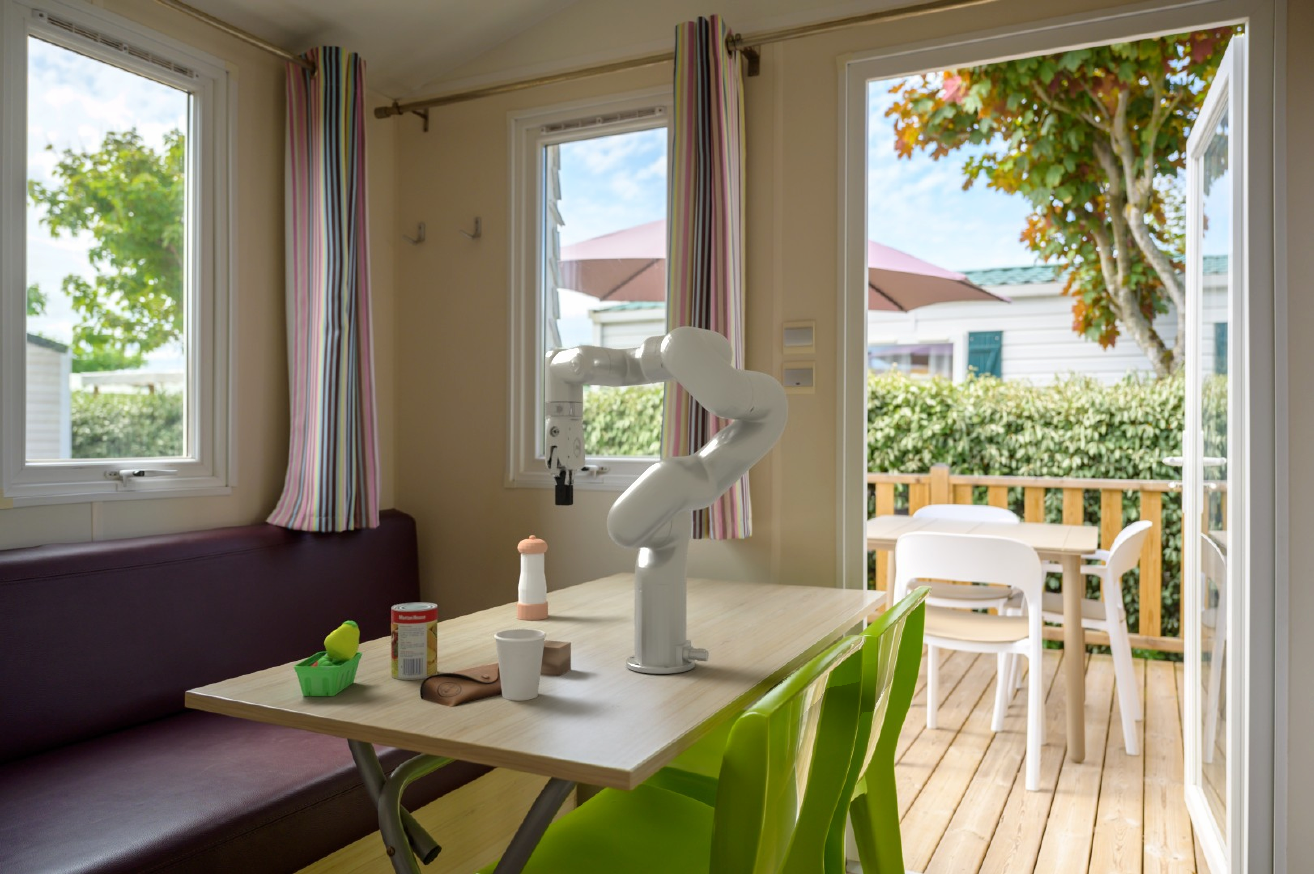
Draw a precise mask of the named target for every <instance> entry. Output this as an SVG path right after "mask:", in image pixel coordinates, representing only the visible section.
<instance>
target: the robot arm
mask: <svg viewBox="0 0 1314 874" xmlns="http://www.w3.org/2000/svg"><path fill="white" fill-rule="evenodd" d="M733 355H734V354H733V348H732V345H731V343H730V342H729V339H727V338H726V336H724V335H723V334H721V333H720V332H717V331H714V330H711V329H707V328H706V329H705V328H700V327H695V326H691V325H690V326H687V325H685V326H679V327H677V328H674V329H672V330H671V331H669V332H668V333H667V334H665V335H664V334H663V335H654V336H649V337H648V338H646V339H645V340H644V341H643V343H642V344H641V346H639V347H632V348H631V347H630V348H611V347H603V346H597V345H596V346H595V345H590V344H589V345H588V344H584V345H577V346H574V347H570V348H557V349H551V350H548V351H547V352H546V353H545V358H544V420H546V427H545V445H544V459H545V463H544V464H545V466H546V468H547V469H549V470H550V476H552V477H553V480H554V481H553V482H554V503H555V504H554V505H555V506H573V505H574V483H575V476H576V475H577V473H578V470H581V469H583V468H585V465H586V449H585V435H584V434H585V433H584V432H585V431H584V425H583V420H584V385H585V386H600V387H612V388H618V387H632V386H643V385H645V386H646V385H650V384H657V383H669V382H676V381H677V383H679V385H681V386H682V388H684V389H685V391H687V392H688V393H689V395H691V396H692V397H693V399H695V400H696V401H697V403H698V404H700V406H701V407H702V408H704V409H705V410H706V411H708V413H710V414H711V415H713V416H715V417H717V418H720V419H724V420H733V421H732V422H731V423H729V424H728V425H727V426H725V427H723V428H722V429H721V430H719V431H718V432H717V433H715V434H714V435H713V436H712V437H711V438H710V439H709V440H708V441H707V442H706V444H704V445H703V446H702V447H701V448H699V449H698V450H697V451H696V452H694V453H692V454H690V455H685V456H682V455H681V456H669V457H666V458H662V459H661V460H658V461H657V462H655V463H653V464H652V465H651V466H649V467H648V468H647V469H646V470H645V471H643V473H641V475H640V476H639V477H638V478H637V479H635V480H634V481H633V483H632V484H631V485H630V486H628V488H627V489H625V491H624V492H622V494H621V495H620V496H618V498H616V500H615V501H614V503H613V504H612V506H611V507H610V508H609V511H608V514H607V517H606V518H607V519H606V529H607V533H608V536H609V537H610V539H611V540H612V542H613V543H615V545H618V546H619V547H621V548H623V549H626V550H638V551H637V552H638V553H637V555H636V559H635V560H636V561H635V568H634V654H633V655H631V656H628V657H627V659H626V660H625V666H626V668H628V669H629V670H631V671H634V672H638V673H643V674H645V673H646V674H653V675H656V674H657V675H658V674H659V675H663V674H664V675H665V674H678V673H683V672H688V671H690V670H692V669H694V668H695V666H696V664H695V663H696V661H697V662H699V661H700V662H708V661H709V656H710V655H709V654H710V653H709V650H706V648H700V647H699V648H697V647H696V648H695V647H694V646H692V640H691V639H687V581H688V575H687V574H688V554H689V553H688V551H689V546H690V544H689V543H690V539H691V533H692V527H693V526H692V523H693V521H692V518H693V517H692V513H691V511H698V510H703V509H706V508H708V507H711V506H712V505H713V504H714V503H716V502H717V501H718V500H719V499H720V498H721V497H722V496H723V495H724V494H725V493H726V492H727V491H728V490H730V488H731V487H733V485H734V484H736V483H737V482H738V481H739V480H741V478H742V477H744V475H745V474H746V473H748V471H749V470H751V468H752V467H754V465H756V464H757V463H758V462H759V461H760V460H761V459H763V458H764V456H766V455H767V454H768V453H769V452H770V451H771V450H772V449H773V447H774V446H775V445H776V444H777V443H778V442H779V440H780V438H781V437H782V435H783V432H784V430H785V428H786V425H787V422H788V417H789V416H788V415H789V401H788V397H787V394H786V390H785V389H784V387H783V385H782V384H781V383H780V381H779V380H777V379H776V378H775V377H773V376H772V375H770V374H768V373H765V372H760V371H756V370H750V369H749V370H747V369H742V368H741V369H740V368H735V367H733V366H732V365H731V363H732V361H733Z"/></svg>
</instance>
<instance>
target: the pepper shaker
mask: <svg viewBox="0 0 1314 874" xmlns="http://www.w3.org/2000/svg"><path fill="white" fill-rule="evenodd" d="M548 548H549V547H548V544H547V542H546V540H543V539H541V538H537V537H536V535H529V538H525V539H523V540H520V542H519V543H518V545H517V551H518V553H520V575H519V582H518V587H517V588H518V589H517V590H518V602H517V603H516V619H519V620H522V621H539V620H544V619H548V618H549V602H548V601H547V581H546V574H545V553H546V552H547V550H548ZM547 617H548V618H547Z"/></svg>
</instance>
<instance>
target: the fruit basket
mask: <svg viewBox="0 0 1314 874" xmlns="http://www.w3.org/2000/svg"><path fill="white" fill-rule="evenodd" d="M360 632H361V631H360V629H359V625H358V623H357V622H355V621H353V620H347V621H344V622H342V623H341V626H339V627H337V629H335V630H333V631H332V632H330V634H328V635H327V636H326V638H325V640H324V642H323V645H324V647H325V651H319V652H316V653H315V654H313V655H312V656H310V657H307V658H306V659H304V660H302V661H300V662H299V663H297V664H295V665H293V669H294V672H295V673H296V675H297V679H298V682H299V686H300V689H301V693H302V695H303V697H310V696H311V697H334V696H336V695H337V694H339V693H341V692H342V691H343V690H344V689H346V688H348V687H349V686H351V685H352V684H354V682H355V679H356V675H357V671H358V667H359V663H360V660H361V659H362V656H363V652H361V651H358V650H359V646H360V634H361V633H360Z"/></svg>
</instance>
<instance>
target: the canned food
mask: <svg viewBox="0 0 1314 874" xmlns="http://www.w3.org/2000/svg"><path fill="white" fill-rule="evenodd" d="M390 610H391V612H390V613H391V614H390V615H391V617H390V621H391V623H390V631H391V634H390V635H391V637H390V639H391V640H390V643H391V644H390V647H391V648H390V658H391V659H390V661H391V662H390V676H391V677H392V678H393V679H396V680H401V681H403V680H404V681H412V680H423V679H424V680H425V679H426V678H428V677H429V676H432V675H436V674H438V604H437V603H433V602H405V603H399V604H398V603H397V604H394V605H392V606H391V609H390Z"/></svg>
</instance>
